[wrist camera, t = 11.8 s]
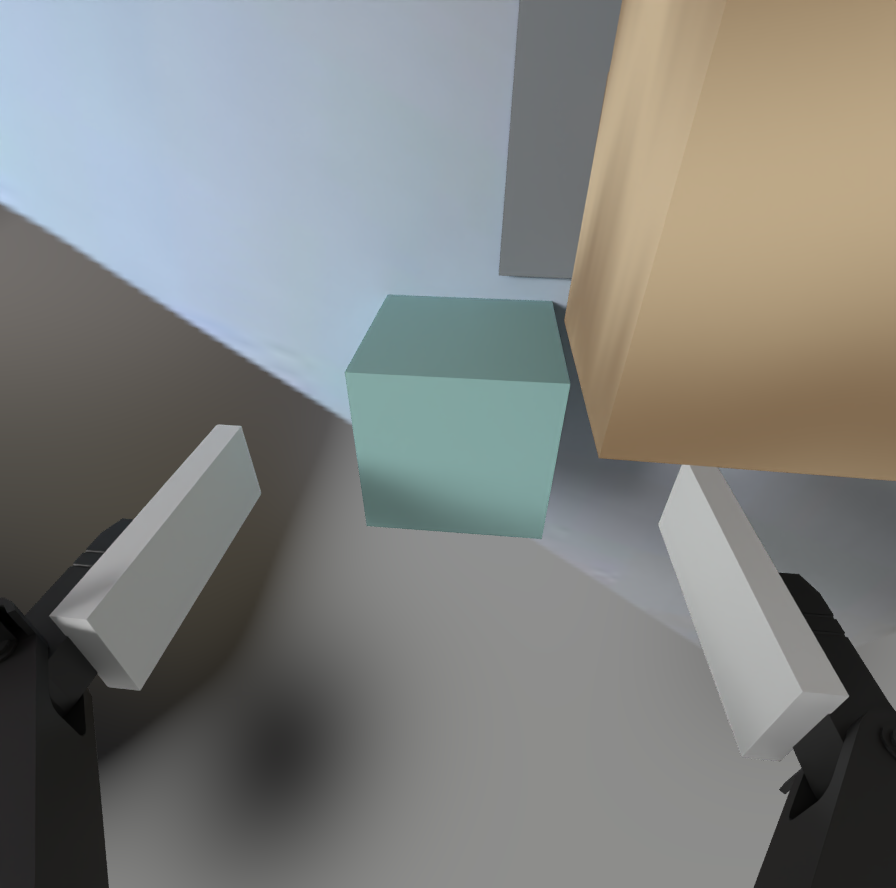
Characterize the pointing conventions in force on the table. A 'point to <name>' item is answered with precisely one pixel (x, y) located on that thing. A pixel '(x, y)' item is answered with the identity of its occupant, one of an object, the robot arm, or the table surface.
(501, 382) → the cube
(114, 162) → the table surface
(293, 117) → the table surface
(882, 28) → the lintel
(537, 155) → the mat
